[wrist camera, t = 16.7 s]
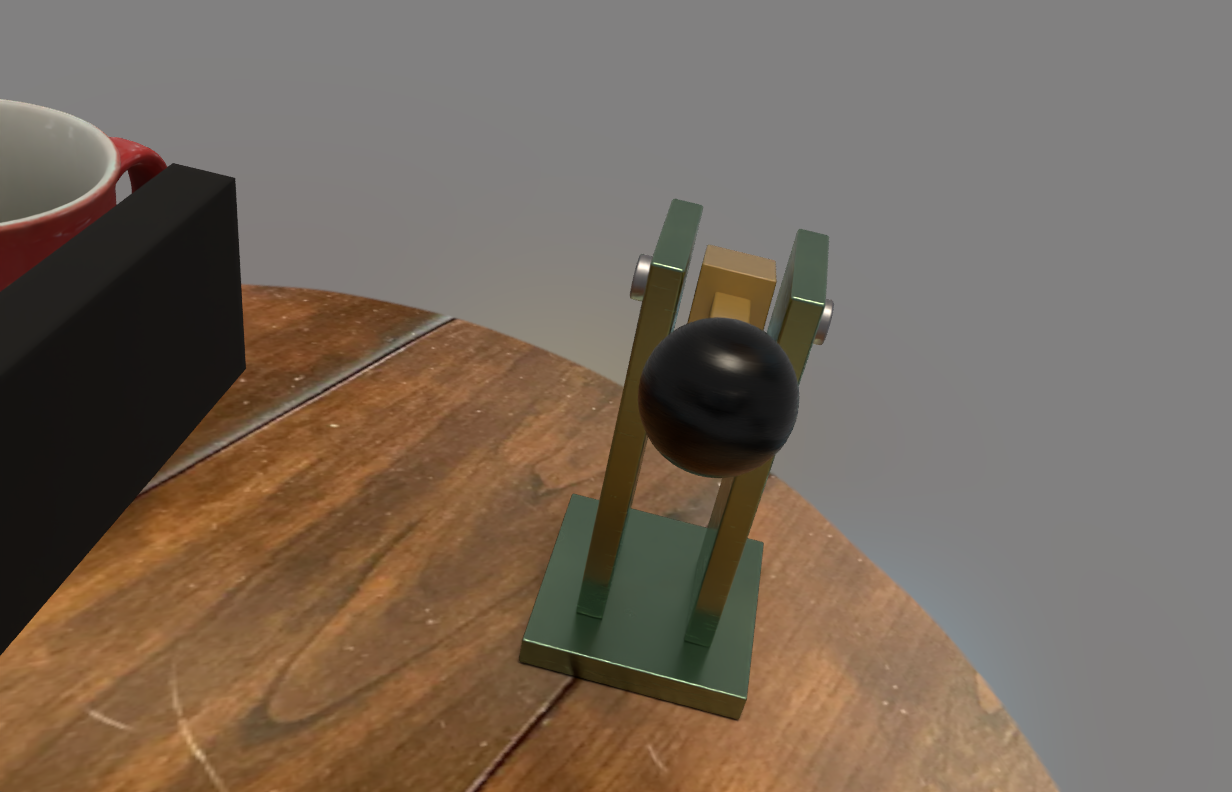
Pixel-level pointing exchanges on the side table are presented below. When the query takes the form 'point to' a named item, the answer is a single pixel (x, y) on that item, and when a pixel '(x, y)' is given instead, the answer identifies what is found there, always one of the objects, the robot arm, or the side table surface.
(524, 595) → the side table surface
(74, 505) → the robot arm
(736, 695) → the switch bracket
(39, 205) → the mug
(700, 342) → the switch lever
